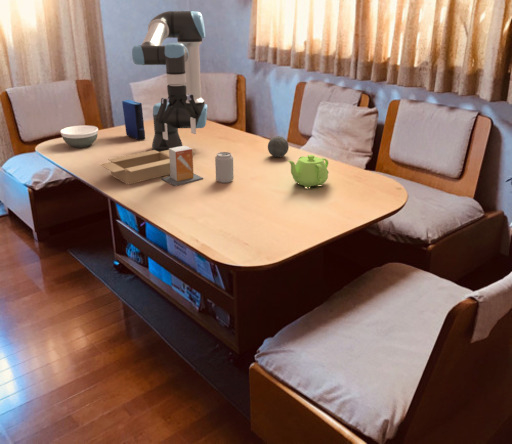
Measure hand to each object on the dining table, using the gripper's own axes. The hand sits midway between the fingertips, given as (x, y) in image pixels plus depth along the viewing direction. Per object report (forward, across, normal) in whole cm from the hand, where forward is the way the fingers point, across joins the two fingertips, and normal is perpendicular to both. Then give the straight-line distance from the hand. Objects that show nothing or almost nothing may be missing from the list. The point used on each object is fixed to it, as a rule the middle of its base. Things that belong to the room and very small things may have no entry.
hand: (179, 136), depth 220 cm
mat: (+19, 0, 0) cm, 19 cm away
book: (+20, -16, -72) cm, 76 cm away
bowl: (+20, +13, -77) cm, 80 cm away
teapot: (+19, -36, +39) cm, 57 cm away
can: (+19, -13, +13) cm, 26 cm away
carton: (+19, +9, -16) cm, 26 cm away
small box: (+18, 0, 0) cm, 18 cm away
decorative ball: (+19, -53, +2) cm, 56 cm away
